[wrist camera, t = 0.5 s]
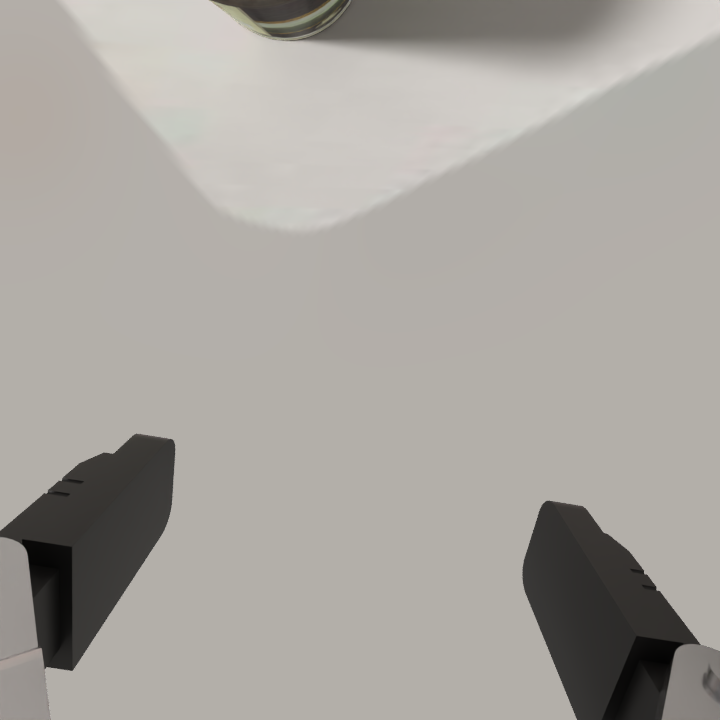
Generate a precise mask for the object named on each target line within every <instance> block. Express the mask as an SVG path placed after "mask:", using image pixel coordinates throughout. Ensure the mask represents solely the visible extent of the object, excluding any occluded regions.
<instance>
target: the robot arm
mask: <svg viewBox="0 0 720 720" xmlns="http://www.w3.org/2000/svg"><path fill="white" fill-rule="evenodd" d="M174 461H175V444H174V441H173V440H172V439H167V438H161V437H155V436H148V435H142V434H135V435H134V436H132V437H131V438H130V439H129V440H128V441H127V442H126V443H125V444H124V445H123V446H122V447H120V448H119V449H118V451H116V452H115V453H114V454H110V453H102V454H100V455H98V456H95V457H93V458H91V459H88V460H86V461H84V462H82V463H79V464H78V465H77V466H76V467H75V468H74V469H73V470H71V471H70V472H69V473H68V474H67V475H65V476H64V477H63V479H62V481H58V482H57V483H56V484H55V485H54V486H53V487H51V488H50V489H49V490H48V493H47V494H45V493H44V494H43V495H42V496H41V497H40V498H39V499H37V500H36V501H35V502H34V503H33V504H32V505H30V506H29V507H28V508H27V509H26V510H24V511H23V512H22V513H21V514H20V515H18V516H17V517H16V518H15V519H14V520H13V521H12V522H10V523H9V524H8V525H7V526H6V527H4V528H3V529H2V530H1V531H0V720H51V719H50V711H49V702H48V694H47V686H46V678H45V668H46V667H51V668H57V669H64V670H71V671H72V670H73V669H74V668H75V666H76V665H77V663H78V662H79V660H80V659H81V657H82V656H83V654H84V653H85V651H86V649H87V648H88V646H89V645H90V643H91V642H92V640H93V639H94V637H95V636H96V634H97V633H98V631H99V630H100V628H101V626H102V625H103V624H104V622H105V620H106V619H107V617H108V616H109V614H110V613H111V611H112V610H113V608H114V607H115V605H116V604H117V602H118V601H119V599H120V597H121V596H122V594H123V593H124V591H125V590H126V588H127V587H128V585H129V584H130V582H131V581H132V579H133V578H134V576H135V575H136V573H137V572H138V570H139V569H140V567H141V565H142V564H143V563H144V561H145V559H146V558H147V556H148V555H149V553H150V552H151V550H152V549H153V547H154V546H155V544H156V543H157V541H158V540H159V538H160V536H161V535H162V533H163V531H164V529H165V527H166V524H167V522H168V519H169V515H170V511H171V505H172V492H173V475H174ZM523 584H524V589H525V593H526V595H527V598H528V600H529V603H530V605H531V607H532V610H533V612H534V615H535V617H536V620H537V622H538V625H539V627H540V630H541V632H542V635H543V637H544V639H545V642H546V644H547V647H548V649H549V652H550V654H551V657H552V659H553V662H554V664H555V667H556V669H557V671H558V674H559V676H560V679H561V681H562V684H563V686H564V688H565V691H566V694H567V696H568V698H569V701H570V703H571V706H572V708H573V711H574V713H575V716H576V718H577V720H720V651H718V650H715V649H713V648H710V647H706V646H703V645H700V644H699V642H698V641H697V639H696V638H695V637H694V635H693V634H692V633H691V632H690V630H689V629H688V628H687V626H686V625H685V624H684V622H683V621H682V620H681V618H680V617H679V616H678V615H677V613H676V612H675V611H674V609H673V608H672V607H671V605H670V604H669V603H668V602H667V600H666V599H665V598H664V596H663V595H662V594H661V592H660V591H657V590H656V586H655V585H654V583H653V582H652V581H651V579H650V578H649V577H648V575H645V574H644V570H643V569H642V567H641V566H640V565H639V564H638V562H637V561H636V560H635V558H634V557H633V556H632V554H631V553H630V552H629V551H628V550H627V549H625V548H624V547H623V546H622V545H621V544H619V543H618V542H617V541H615V540H614V539H613V538H612V537H611V536H609V535H608V534H605V533H603V532H602V530H601V529H600V527H599V526H598V525H597V523H596V522H595V521H594V519H593V518H592V516H591V515H590V514H589V512H588V511H587V510H586V508H584V507H583V506H578V505H572V504H566V503H560V502H553V501H546V502H545V503H544V504H543V505H542V507H541V509H540V511H539V514H538V518H537V521H536V524H535V527H534V530H533V534H532V537H531V540H530V543H529V547H528V550H527V553H526V556H525V559H524V564H523Z"/></svg>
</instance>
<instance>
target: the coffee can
mask: <svg viewBox="0 0 720 720" xmlns="http://www.w3.org/2000/svg"><path fill="white" fill-rule="evenodd" d="M209 1H211V2H213V3H214V4H215V5H217V6H218V7H219V8H221V9H222V10H223V11H225V12H226V13H227V14H229V15H230V16H231V17H232V18H233V19H234V20H235V21H236V22H238V23H239V24H240V25H242V26H243V27H245V28H247V29H248V30H250V31H252V32H254V33H256V34H258V35H261V36H263V37H267V38H269V39H275V40H298V39H302V38H306V37H309V36H312V35H314V34H317V33H319V32H320V31H322V30H324V29H325V28H327V27H328V26H330V25H331V24H333V23H334V22H335V21H336V20H337V19H338V18H339V17H340V16H341V15H342V13H343V12H344V11H345V10H346V9H347V7H348V6H349V4H350V3H351V1H352V0H209Z"/></svg>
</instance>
